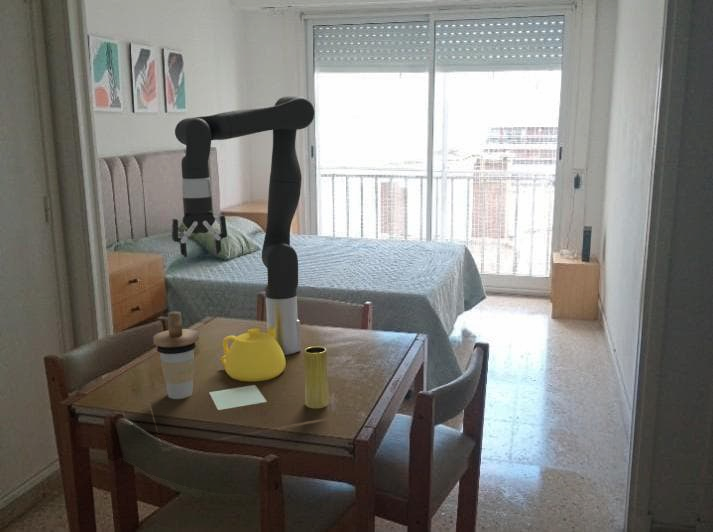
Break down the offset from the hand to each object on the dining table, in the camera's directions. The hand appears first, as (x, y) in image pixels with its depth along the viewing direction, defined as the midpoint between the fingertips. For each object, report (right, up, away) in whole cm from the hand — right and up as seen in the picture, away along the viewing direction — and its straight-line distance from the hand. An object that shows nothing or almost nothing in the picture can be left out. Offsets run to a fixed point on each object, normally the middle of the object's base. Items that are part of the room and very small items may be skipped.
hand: (201, 255), depth 184 cm
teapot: (+14, -33, +7) cm, 36 cm away
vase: (+32, -37, -17) cm, 52 cm away
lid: (-3, -21, -13) cm, 26 cm away
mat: (+12, -36, -13) cm, 40 cm away
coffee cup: (-3, -36, -10) cm, 38 cm away
